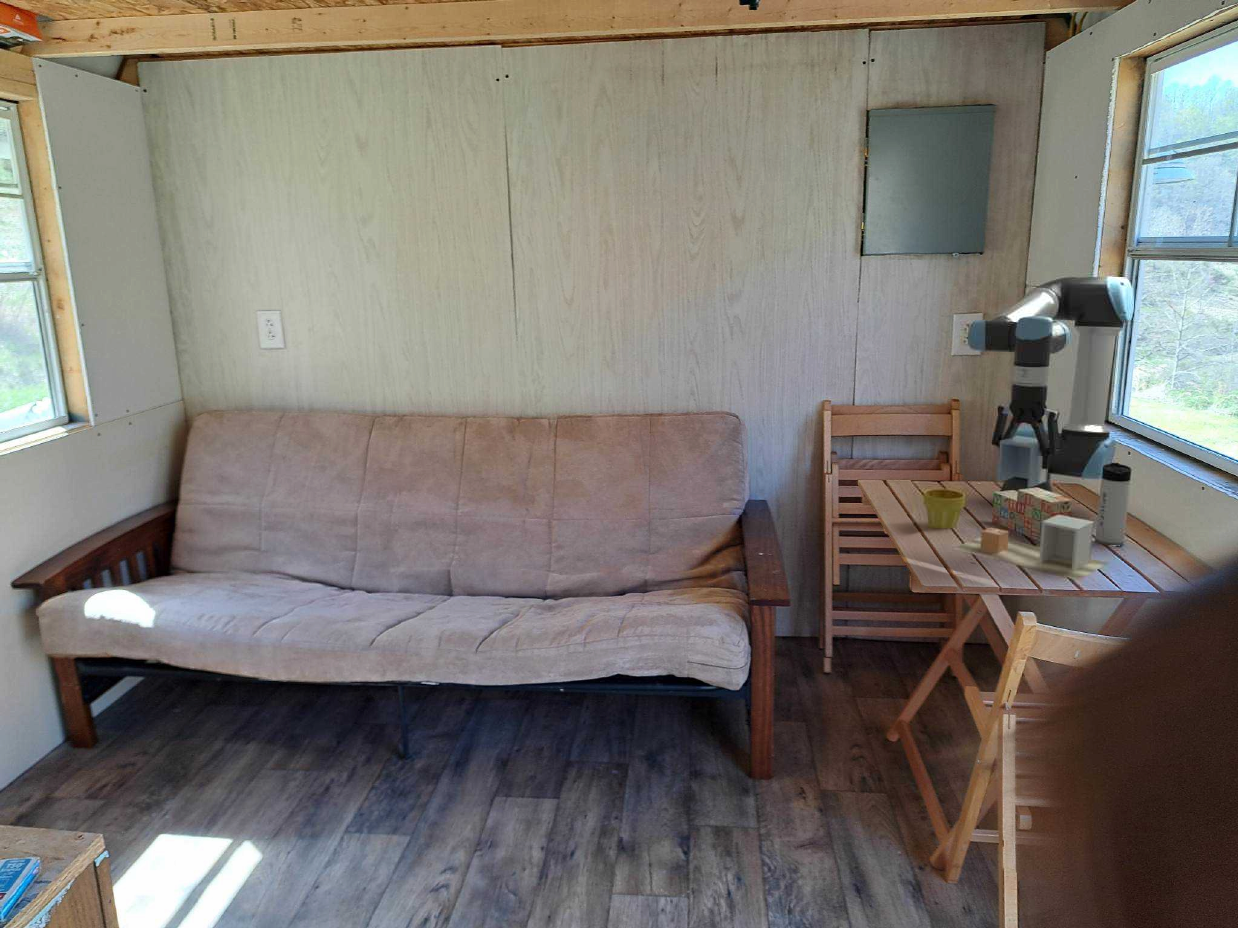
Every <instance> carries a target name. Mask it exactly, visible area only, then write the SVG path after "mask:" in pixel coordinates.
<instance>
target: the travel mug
mask: <svg viewBox="0 0 1238 928" xmlns="http://www.w3.org/2000/svg"><path fill="white" fill-rule="evenodd" d="M1102 474H1103V475H1102V478H1100V479H1101V482H1100V488H1099V489H1100V490H1099V497H1098V498H1099V500H1098V508H1097V509H1098V510H1097V519H1096V530H1095V539H1094V541H1095V543H1096V544H1100V545H1104V546H1108V547H1109V546H1110V545H1122V546H1124V544H1125V537H1126V536H1125V535H1126V528H1127V527H1126V525H1127V518H1128V508H1129V497H1130V490H1131V489H1130V488H1131V476H1132V468H1131V467H1130V466H1128V465H1124V464H1120V463H1119V462H1112V463H1111V464H1106V465H1104V466H1103V471H1102ZM1123 543H1124V544H1123ZM1110 547H1111V546H1110Z"/></svg>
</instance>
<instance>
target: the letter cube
mask: <svg viewBox="0 0 1238 928" xmlns="http://www.w3.org/2000/svg"><path fill="white" fill-rule="evenodd" d="M980 537H981V549H983V550H987V551H991V552H996V553H1000V552H1002V551H1004V550H1006V549H1007V547H1008V540H1009V530H1005V529H999V528H996V527H988V528H986V529H984V530H981V535H980Z"/></svg>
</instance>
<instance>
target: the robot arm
mask: <svg viewBox="0 0 1238 928" xmlns="http://www.w3.org/2000/svg"><path fill="white" fill-rule="evenodd" d="M1134 309H1135V296H1134V290H1133V287H1132V283H1131V282H1130V281H1129V279H1127V278H1126V277H1119V276H1081V277H1080V276H1075V277H1073V276H1066V277H1059V278H1057V279H1053V280H1050V281H1047V282H1045V283H1042V284H1039V285H1038V286H1036V287H1033V288H1031V289H1030V290H1029V291H1028V292H1026V293H1025V295H1024V296H1023V297H1022V299H1021V300H1020V301H1019V302H1017V303H1016V304H1013V305H1012V306H1011V307H1009V308H1008V309H1006V310H1005V311H1003V312H1002V313H1000V314H998V315H997V316H995V317H994V318H992V319H990V320H986V319H981V320H974V321H972V322H971V324H970V326H969V328H968V332H967V344H968V347H969V349H971V350H973V351H982V352H994V353H995V352H997V353H998V352H999V353H1000V352H1001V353H1014V356H1013V370H1012V382H1013V384H1012V385H1011V397H1010V399H1011V402H1010V404H1008V405H1007V404H1001V405H998V406H997V419H996V422H995V427H994V431H993V435H992V439H991V445H992V446H995V447H997V448H998V451H999V450H1000V441H1001V440H1004V439H1010V438H1013V437H1015V436H1023V437H1030V438H1037V441H1038V444H1039V447H1040V450H1041V453H1042V454H1041V455H1038V465H1037V477H1036V483H1041V482H1044V481H1045V474H1046V469H1048V474H1047V482H1044V483H1041V484H1039V485H1036V486H1033V487H1030V488H1040V489H1043V490H1045V491H1049V492H1052V493H1054V491H1053V487H1052V484H1051V476H1052V475H1058V476H1065V477H1066V476H1067V477H1073V478H1079V479H1080V478H1081V479H1082V480H1085V479H1086V480H1087V479H1089V480H1100V479H1101V478H1102V475H1103V474H1102V471H1103V466H1104V465H1106V464H1111V463H1113V460H1114V458H1115V454H1116V449H1117V448H1116V444H1117V443H1116V440H1115V439H1114V438H1112V437H1110V429H1109V428H1108V427H1107V426H1106V425H1105V421H1106V414H1107V406H1108V405H1107V404H1108V396H1109V388H1110V381H1111V374H1112V367H1113V360H1114V351H1115V343H1116V337H1117V335H1118V334H1119V333H1120V332H1121V331H1123V329H1124V324H1125V323H1129V322H1131V321H1132V319H1133V314H1134V311H1135V310H1134ZM1057 320H1058V321H1057ZM1061 321H1072V322H1074V329H1075V330H1076V331H1077V333H1079V336H1078V344H1077V352H1076V361H1075V370H1074V375H1073V376H1074V379H1073V384H1072V385H1073V386H1072V394H1071V401H1070V410H1069V418H1068V419H1069V420H1068V422H1067V423H1065V424H1064V425H1062V427H1061V431H1060V432H1059V424H1058V420H1059V416H1060V411H1059V410H1051V409H1049V408H1048V407H1047V405H1046V402H1047V398H1048V386H1047V384H1048V382H1049V372H1050V361H1051V355H1053V354H1057V353H1058V352H1060V351H1063V349H1065V348H1066V347H1067V346H1068V345H1069V342H1070V340H1071V331H1070V329H1069V327H1068V326H1067V325H1066V324H1064V323H1063V322H1061ZM1010 412H1011V414H1012V418H1011V420H1010V422H1009V425H1008V427H1007V429H1006V425H1007V421H1008V416H1009V413H1010ZM1044 416H1045V418H1046V419H1047V420H1046V422H1047V425H1046V424H1044V420H1043V417H1044ZM1021 424H1026V425H1025V426H1021ZM1005 429H1006V431H1005ZM1048 440H1049V441H1048ZM1020 489H1029V487H1028V479H1026V478H1021V477H1013V478H1010V479H1007V480H1004V481H1003V483H1002V485H1001V487H1000V490H999V492H1002V491H1010V490H1014V491H1017V492H1018V490H1020Z"/></svg>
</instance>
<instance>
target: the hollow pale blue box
mask: <svg viewBox="0 0 1238 928" xmlns="http://www.w3.org/2000/svg"><path fill="white" fill-rule="evenodd" d="M1048 441H1049V440H1048ZM1041 454H1042V453H1041V450H1040V447H1039V444H1038V441H1037V438H1030V437H1023V436H1015V437H1013V438H1010V439H1004V440H1001V441H1000V450H999V449H998V465H997V466H998V469H997V480H996V481H997V482H999V483H1001V482H1004V481H1005V480H1007V479H1010V478H1013V477H1021V478H1026V479H1028V487H1029V488H1030V487H1033V486H1036V485H1039V484H1041V483H1044V482H1047V474H1048V469H1046V474H1045V481H1044V482H1041V483H1036V477H1037V465H1038V455H1041Z"/></svg>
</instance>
